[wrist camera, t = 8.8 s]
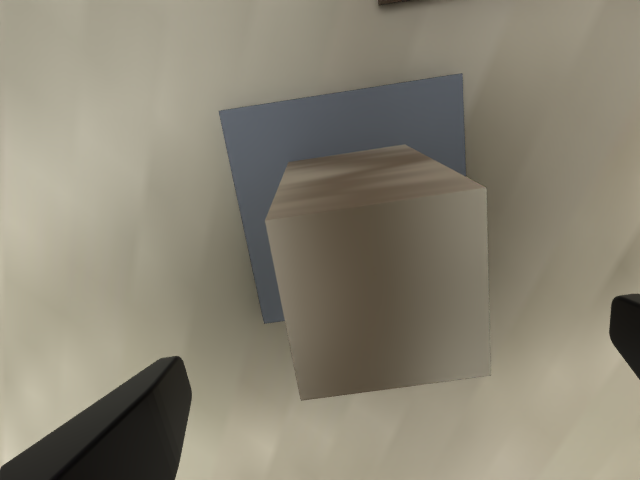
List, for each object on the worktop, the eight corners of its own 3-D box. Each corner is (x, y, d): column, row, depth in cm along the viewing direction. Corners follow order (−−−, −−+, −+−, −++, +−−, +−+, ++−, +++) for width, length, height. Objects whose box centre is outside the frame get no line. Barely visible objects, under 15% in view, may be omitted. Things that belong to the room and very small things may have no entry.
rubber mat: (457, 74, 18) (462, 73, 17) (465, 290, 21) (470, 295, 20) (221, 110, 18) (218, 110, 17) (265, 317, 21) (264, 323, 21)
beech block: (404, 144, 18) (486, 187, 9) (413, 253, 20) (490, 375, 11) (288, 162, 18) (264, 220, 10) (306, 269, 20) (300, 400, 11)
